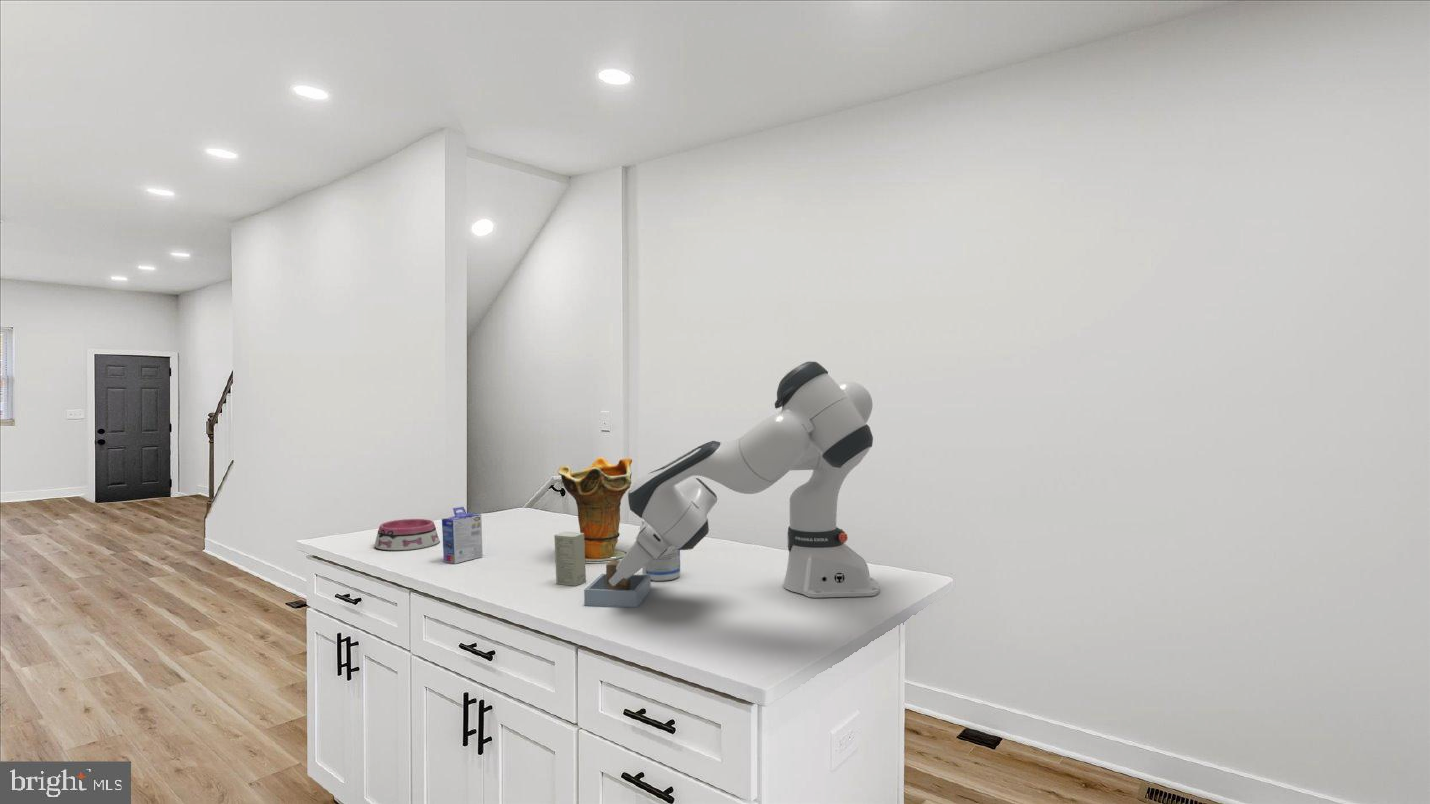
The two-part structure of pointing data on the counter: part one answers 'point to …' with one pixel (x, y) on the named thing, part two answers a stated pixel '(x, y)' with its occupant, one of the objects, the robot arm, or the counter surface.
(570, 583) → the skincare box
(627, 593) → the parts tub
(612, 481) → the decorative vase
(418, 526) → the dog bowl
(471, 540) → the ink cartridge box
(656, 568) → the supplement tub
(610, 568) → the walnut block
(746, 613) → the counter surface
